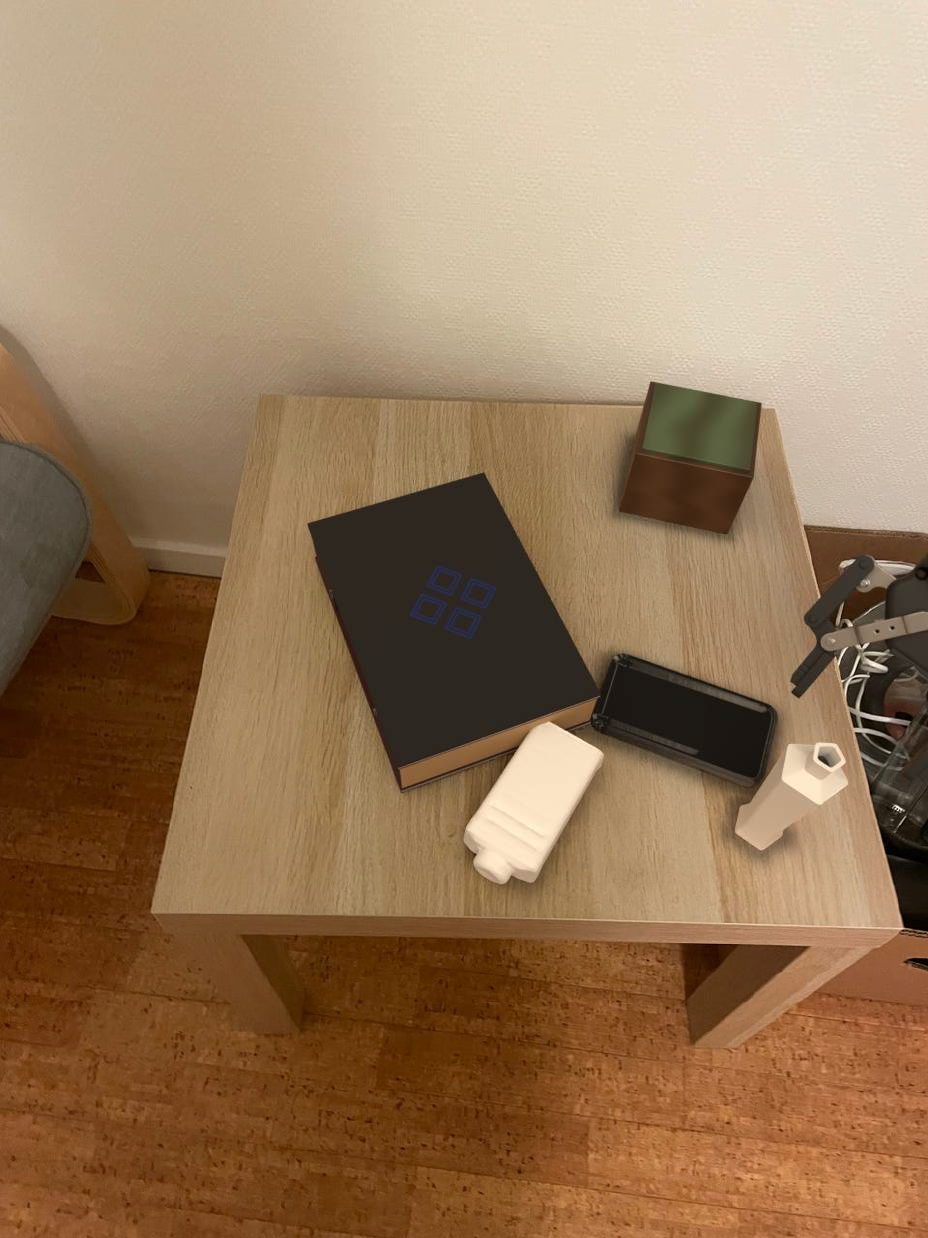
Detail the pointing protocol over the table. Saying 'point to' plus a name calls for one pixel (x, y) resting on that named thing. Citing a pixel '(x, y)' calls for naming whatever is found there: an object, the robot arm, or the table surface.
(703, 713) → the phone
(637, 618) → the table surface
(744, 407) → the stand
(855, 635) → the robot arm
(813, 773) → the cream faceted bottle shape
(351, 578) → the book
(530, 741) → the white bottle
